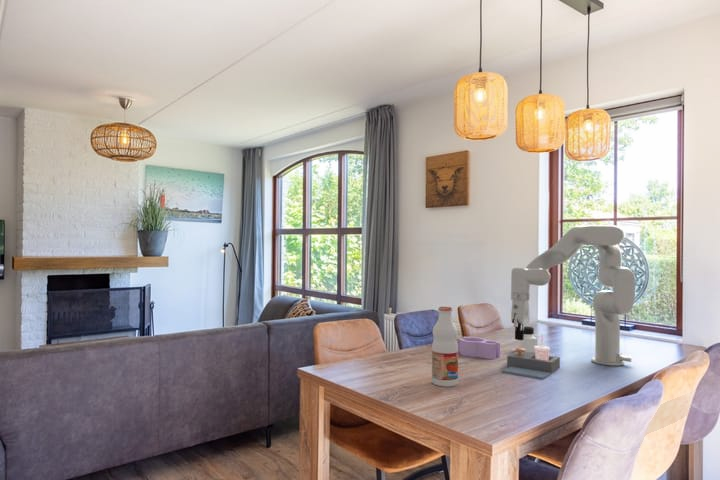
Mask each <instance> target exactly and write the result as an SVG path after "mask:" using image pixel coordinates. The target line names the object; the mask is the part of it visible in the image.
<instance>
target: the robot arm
mask: <svg viewBox="0 0 720 480" xmlns="http://www.w3.org/2000/svg"><path fill="white" fill-rule="evenodd" d="M624 237H625V232H624V231H623V229H622V228H621V226H617V225H576V226H573V227H571V228H570V229H568V231H567V232H566V233H565V234H564V235H562V236H561V237H560V238H559V240H558V241H557V242H556V243H554V245H553V246H552V247H550V248H549V249H547V250H546V251H544V252H542V253H541V254H539V255H538V256H536V257H535V258H534V259H533V260H532V261H531V262H529V263H528V265H527V266H526V267H514V268H512V269H511V276H510V277H511V278H510V282H511V283H510V300H511V310H510V311H511V313H510V315H511V317H510V320H511V323H512V324H513V327H514V331H515V332H514V340H517V341H518V340H523V339H524V331H523V330H524V326H526V324H528V323H529V322H530V304H529V301H530V289H531V287H530V285H534V286H538V287H539V286H540V287H542V286H546V285H547V284H549V282H551V273H550V272H549V271H548V270H549V269H550V268H553V267H555V266H559V265H561V264H564V263H566V262H567V261H568V260H570V259H571V258H572V257H573V256H574V254H576V252H577V251H579V250H580V249H581V247H583V246H595V247H596V249H597V250H598V253H599V265H598V267H599V269H598V283H599V284H600V285H601V286H603V287H604V288H605V287H606V288H610V289H612V290H605V289H604V290H600V291H597V292H596V293H595V294H594V295H593V299H592V305H593V309H594V316H595V317H594V318H595V320H594V321H595V327H594V329H595V331H594V334H595V342H594V343H595V350H594V351H595V353H594V355H595V356H593V357H591V362H593V363H595V364H598V365H603V366H611V367H612V366H613V367H614V366H616V367H617V366H624V364H625V362H629V363H631V362H632V357H631V356H629V355H628V356H627V355H623V354H622V352H621V351H620V350H621V343H620V342H621V335H620V333H621V329H620V328H621V327H620V326H621V323H620V317H619V315H620V316H623V315H624V316H625V315H627V314H629V313H630V312H631V311H632V309H633V307H634V302H635V291H636V277H635V274H634V272H633V271H632V270H631V269H630V268H629V267H625V266H622V264H623V263H622V256H623V255H622V251H621V248H620V246H619V244H621V243H622V242H623V241H624Z"/></svg>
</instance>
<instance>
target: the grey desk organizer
mask: <svg viewBox="0 0 720 480" xmlns="http://www.w3.org/2000/svg"><path fill="white" fill-rule="evenodd" d="M506 359H507V360H506V368H508V367H510V366H513V367H519V368H525V369H531V370H538V371H544V372H550V373H551V375H552V374H553V373H555V372H556V371H558V370H559V369H560V367H561V360H560V359H561V357H560V356H554V355H549V360H548V361H547V360H540V359H535V353H527V352H523V355H518V352H517V351H514V352H512V353H510V354H508V355H507V356H506Z"/></svg>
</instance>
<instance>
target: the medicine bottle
mask: <svg viewBox="0 0 720 480" xmlns="http://www.w3.org/2000/svg"><path fill="white" fill-rule="evenodd" d="M523 331H524V339H523V340H517V348H524V349H525V352H527V353H534V354H535V349H534V346H538V338H537V337H535V336H534V335H535V328H534V327H532V326H527V325H524V330H523Z"/></svg>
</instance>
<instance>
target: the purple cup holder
mask: <svg viewBox="0 0 720 480" xmlns="http://www.w3.org/2000/svg"><path fill="white" fill-rule="evenodd" d="M456 341H457V343H458V354H460V355H461V356H464V357H470V358H471V357H472V358H474V357H475V358H483V359H486V360H497V358H498V359H499V358H501V342H500V341H497V340H489V339H486V338H483V337H475V336H462V338H461V337H459V338H458V337H457V338H456Z"/></svg>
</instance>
